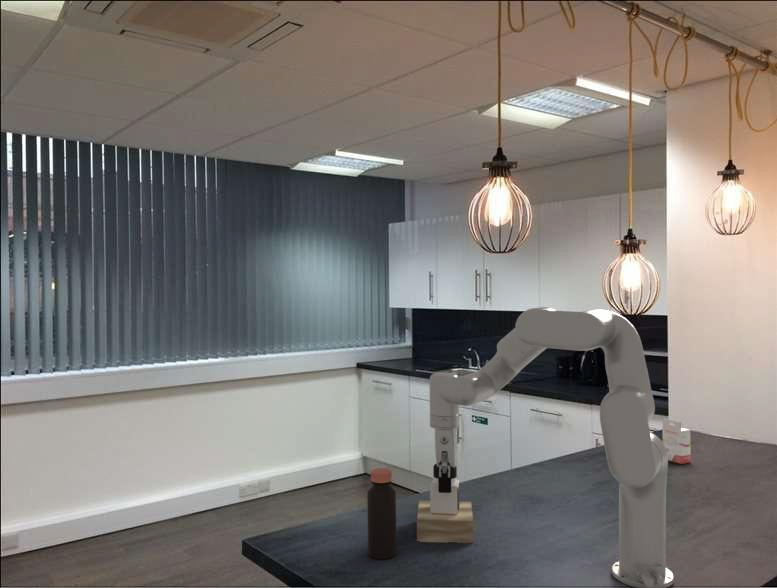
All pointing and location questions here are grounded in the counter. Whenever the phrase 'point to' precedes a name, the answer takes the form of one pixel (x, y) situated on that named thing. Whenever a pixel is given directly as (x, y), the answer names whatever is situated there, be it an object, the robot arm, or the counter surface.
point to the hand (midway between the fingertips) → (445, 486)
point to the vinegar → (381, 515)
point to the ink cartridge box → (676, 442)
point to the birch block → (445, 524)
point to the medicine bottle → (445, 494)
